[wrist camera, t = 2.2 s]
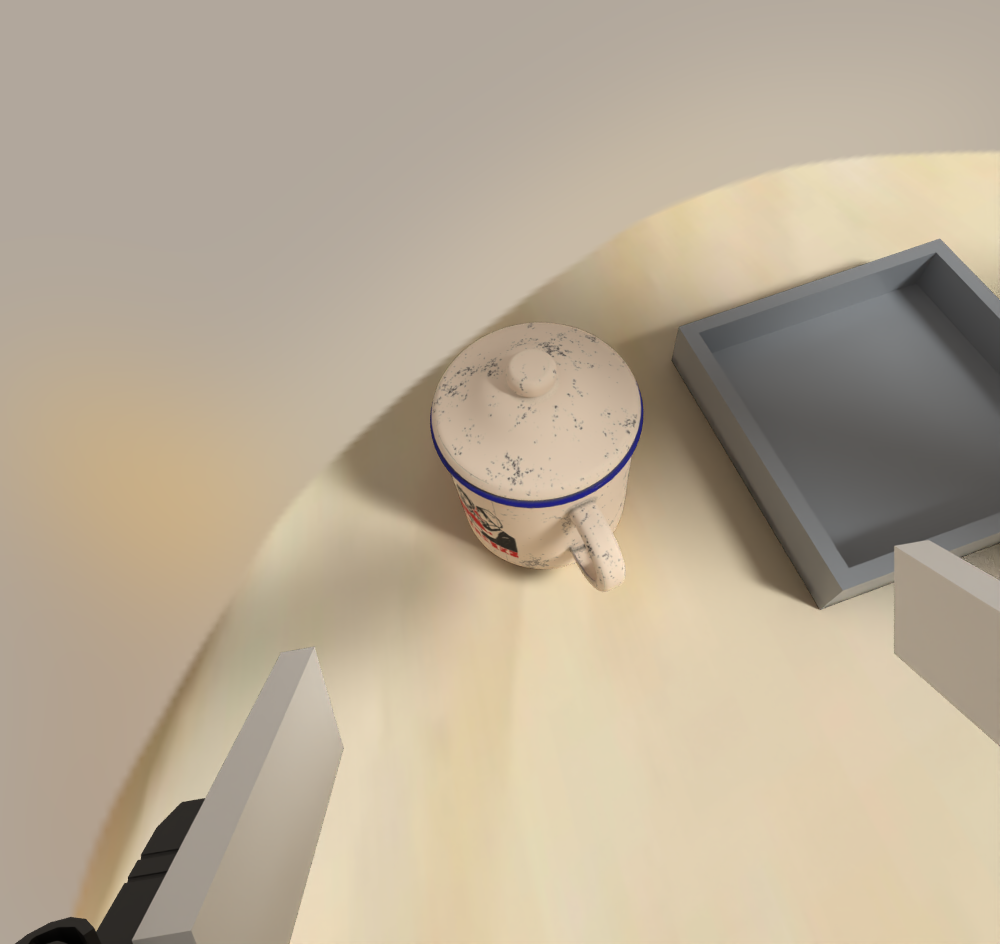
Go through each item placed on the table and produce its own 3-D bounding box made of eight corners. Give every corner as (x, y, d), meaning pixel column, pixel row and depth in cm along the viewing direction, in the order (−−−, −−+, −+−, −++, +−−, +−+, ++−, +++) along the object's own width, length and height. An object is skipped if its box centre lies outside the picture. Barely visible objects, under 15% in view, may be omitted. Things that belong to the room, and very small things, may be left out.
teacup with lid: (436, 464, 37) (382, 328, 27) (579, 401, 38) (581, 247, 28) (526, 658, 31) (501, 582, 21) (691, 579, 32) (745, 469, 22)
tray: (915, 277, 39) (939, 238, 37) (1117, 499, 32) (1165, 470, 29) (671, 360, 38) (678, 326, 36) (820, 609, 31) (842, 590, 28)
